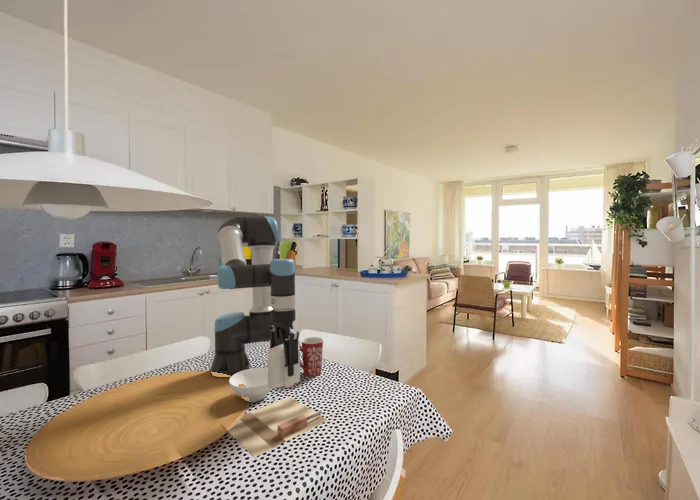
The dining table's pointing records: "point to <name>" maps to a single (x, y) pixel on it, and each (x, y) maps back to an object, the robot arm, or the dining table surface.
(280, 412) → the light wooden cutting board
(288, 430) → the awl
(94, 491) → the dining table surface
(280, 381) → the photo printer
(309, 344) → the mug
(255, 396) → the bowl
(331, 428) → the dining table surface
